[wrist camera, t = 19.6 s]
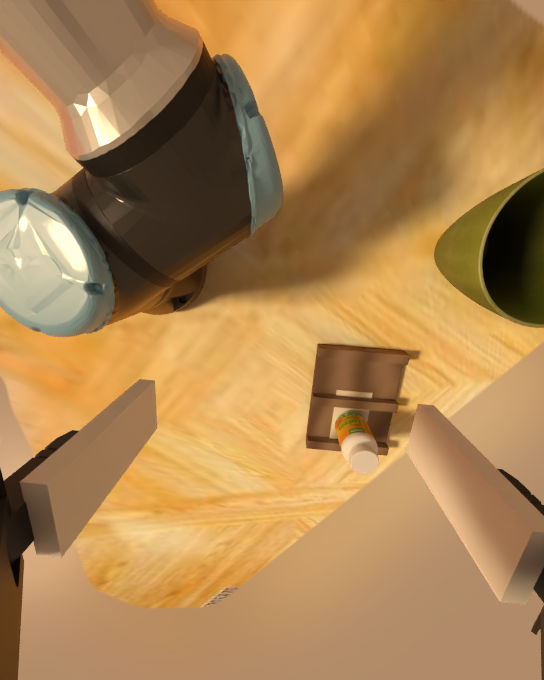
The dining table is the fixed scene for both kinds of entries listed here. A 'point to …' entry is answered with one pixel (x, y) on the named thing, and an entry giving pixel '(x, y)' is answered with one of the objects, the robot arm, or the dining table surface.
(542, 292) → the flower pot
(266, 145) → the robot arm
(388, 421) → the slot board
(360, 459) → the supplement bottle
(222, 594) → the dining table surface
